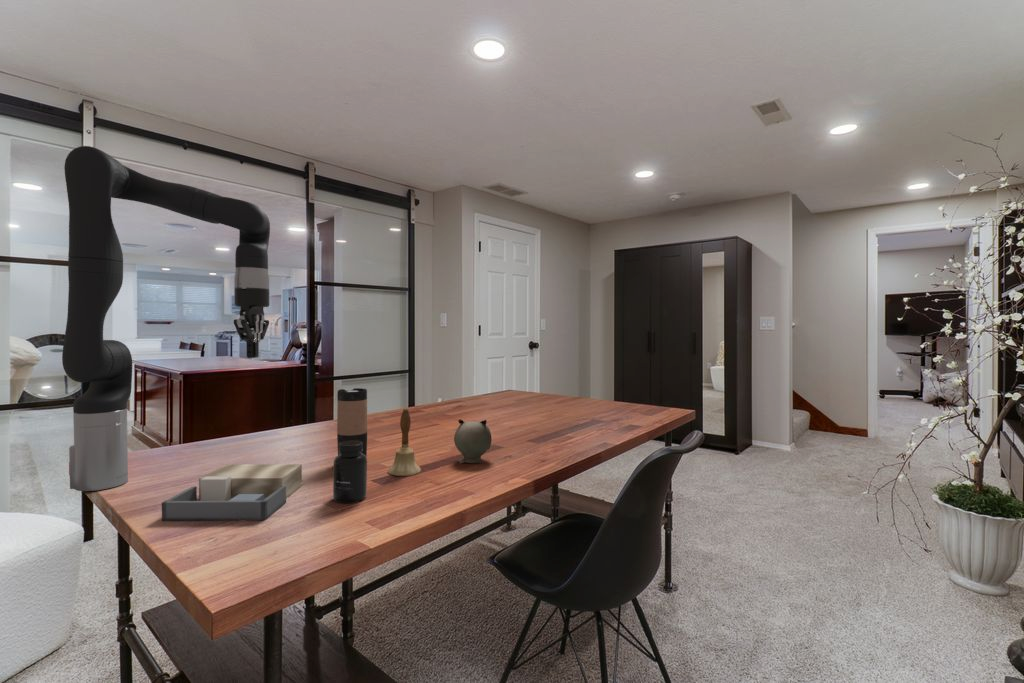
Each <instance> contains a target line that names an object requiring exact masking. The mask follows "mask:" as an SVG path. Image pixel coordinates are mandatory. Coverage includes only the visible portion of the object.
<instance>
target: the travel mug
mask: <svg viewBox="0 0 1024 683" xmlns="http://www.w3.org/2000/svg"><path fill="white" fill-rule="evenodd" d="M336 397H337V403H336V404H337V406H336V407H337V408H336V409H337V410H336V411H337V412H336V413H337V414H336V417H337V418H336V423H337V424H336V425H337V427H336V434H337V439H336V440H337V443H336V444H337V456H338V455H339V454H340V453H339V443H341V442H344V441H361V442H362V443H363V445H362V448H363V451H362V452H361V453H362V454H364V455H365V456H366V458H368V454H367V451H368V390H367V388H362V387H361V388H360V387H359V388H355V387H354V388H353V389H351V390H346V389H344V388H341V389H338V390H337V396H336Z"/></svg>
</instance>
